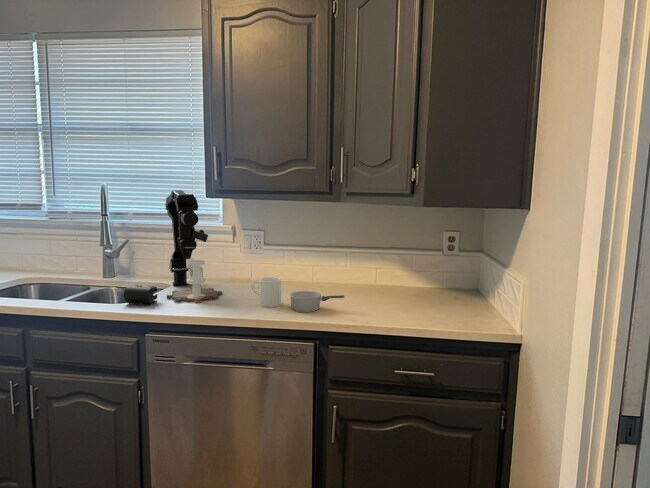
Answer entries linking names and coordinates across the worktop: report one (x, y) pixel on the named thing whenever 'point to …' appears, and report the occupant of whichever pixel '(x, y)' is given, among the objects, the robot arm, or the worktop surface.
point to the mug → (269, 291)
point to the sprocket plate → (187, 297)
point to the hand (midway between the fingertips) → (187, 262)
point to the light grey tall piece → (195, 275)
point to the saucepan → (308, 300)
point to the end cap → (140, 295)
